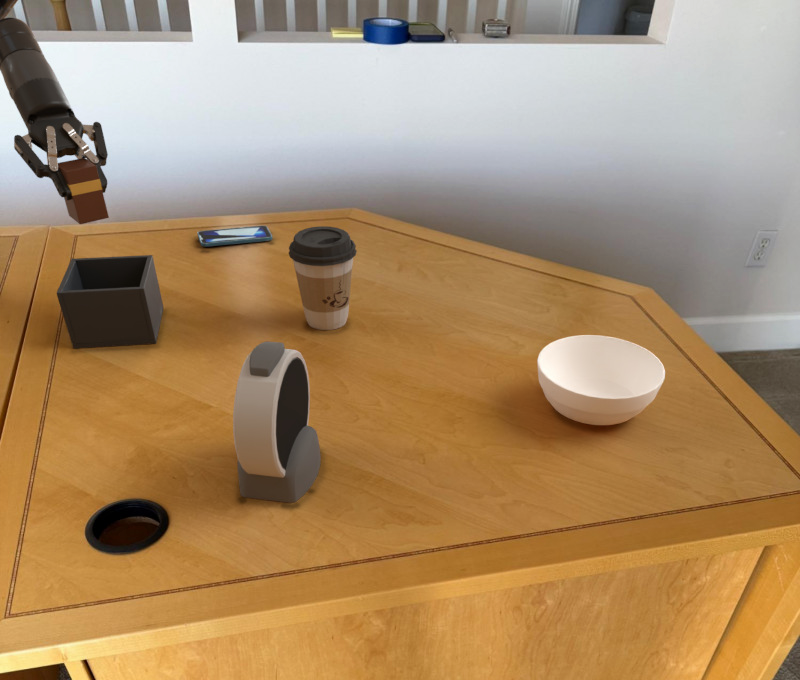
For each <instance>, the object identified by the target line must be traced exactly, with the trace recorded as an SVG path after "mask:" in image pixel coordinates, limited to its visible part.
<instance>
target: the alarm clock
mask: <svg viewBox="0 0 800 680" xmlns="http://www.w3.org/2000/svg"><path fill="white" fill-rule="evenodd" d="M233 401H234V402H233V412H232V420H233V421H232V432H233V433H232V434H233V441H234V449H235V454H236V457H237V477H238V484H239V492H240V496H241V497H243V498H247V499H255V500H263V501H273V502H281V503H289V504H292V503H296V502H298V501H299V500H300V499H301V498H302V497H304V495H306V493H307V492H308V491H309V490H310V488H311V487H312V486H313V485H314V483H315V481H316V479H317V477H318V475H319V472H320V469H321V460H322V459H321V458H322V457H321V448H320V447H321V446H320V440H319V436H318V432H317V430H316V429H315V428H314V427H313V426H311V425H309V420H310V409H311V408H310V404H311V403H310V402H311V391H310V377H309V370H308V367H307V363H306V360H305V358H304V357H303V354H302V352H300V351H298V350H297V349H291V348H285V344H284V343H283V342H279V341H278V342H277V341H267V340H266V341H264V342H260V343H259V344H258V345H256V346H255V347H254V348H253V349H252V350H251V351H250V353H249V354H248V355H247V356H246V358H245V359H244V361H243V364H242V366H241V368H240V372H239V376H238V379H237V384H236V389H235V394H234V400H233Z"/></svg>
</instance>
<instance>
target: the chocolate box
mask: <svg viewBox="0 0 800 680" xmlns="http://www.w3.org/2000/svg"><path fill="white" fill-rule="evenodd" d="M58 170H59V171H61V172H62V174H63V176H64V178H65V180H66V182H67V185H68V187H69V189H70V191H71V193H72V198H71V200H66V199H65V197H63V198H64V202H65V206H66V211H67V213H68V217H70V218H72V219H73V221H75V222H76V223H78V224H79V225H84V224H88V223H93V222H97V221H101V220H106V219H110V217H109V212H108V208H107V203H106V200H105V195H104V193H103V192H102V186H101V182H100V179H99V175H98V171H97V167H96V165H94V164H93V163H91V162H90V161H88V160H87V159H85V158H81V159H78V158H76V159H71V160H67V161H62V162H61V161H60V162H58Z"/></svg>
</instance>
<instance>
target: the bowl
mask: <svg viewBox="0 0 800 680" xmlns="http://www.w3.org/2000/svg"><path fill="white" fill-rule="evenodd" d="M537 356H538V357H537V360H536V363H537V364H536V365H537V376H538V383H539V386H540V387H541V389H542V392H543V394H544V397H545V399H546V400H547V401H548V403H549V404H550V405H551V406H552V407H553V408H554V410H555V411H556V412H558V413H559V414H560V415H562V416H564V417H566V418H568V419H570V420H573V421H575V422H578V423H581V424H585V425H586V424H587V425H592V426H612V425H617V424H622V423H625V422H627V421H629V420H631V419H633V418H634V417H636V416H637V415H639V414H641V413H642V412H643V411H644V410H645V409H646V408H647V406H649V405H650V404H651V403H652V402H654V400H655V399H656V397H657V395H658V393H659V391H660V389H661V387H662V386H663V383H664V381H665V380H666V379H665V378H666V369H665V366H664V364H663V363H662V361H661V360H660V358H659V357H657V355H655V354H654V353H653V352H652V351H650V350H649V349H647V348H645V347H644V346H641V345H639V344H636V343H634V342H632V341H628V340H626V339H622V338H618V337H614V336H607V335H599V334H598V335H597V334H596V335H595V334H584V335H583V334H581V335H572V336H565V337H563V338H559V339H556V340H554V341H552V342H550V343H548V344H547V345H546V346H544V347H543V348H542V349H541V350H540V352H539V354H538V355H537Z"/></svg>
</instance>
